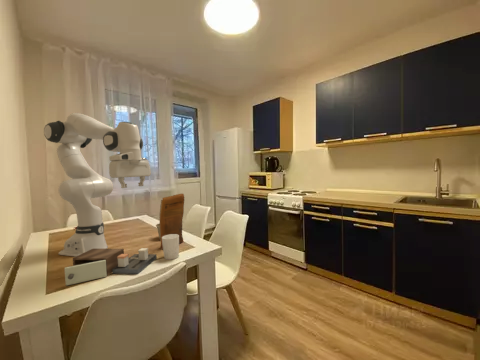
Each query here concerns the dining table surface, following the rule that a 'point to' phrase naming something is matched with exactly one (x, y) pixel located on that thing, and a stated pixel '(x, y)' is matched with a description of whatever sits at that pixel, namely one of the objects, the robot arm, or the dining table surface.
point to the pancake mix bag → (171, 216)
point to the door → (85, 272)
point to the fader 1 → (123, 260)
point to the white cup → (170, 246)
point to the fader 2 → (143, 253)
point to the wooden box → (100, 257)
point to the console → (134, 265)
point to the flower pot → (158, 229)
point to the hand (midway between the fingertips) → (133, 187)
